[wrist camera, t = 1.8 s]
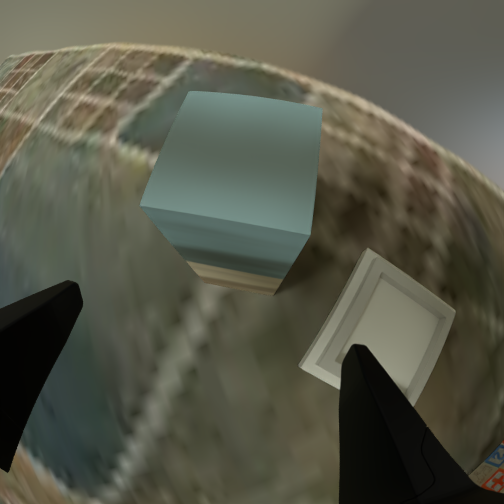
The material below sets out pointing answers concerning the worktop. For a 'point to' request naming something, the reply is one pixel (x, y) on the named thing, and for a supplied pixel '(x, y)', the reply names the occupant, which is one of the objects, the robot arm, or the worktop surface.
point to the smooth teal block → (237, 187)
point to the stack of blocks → (491, 471)
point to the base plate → (383, 326)
